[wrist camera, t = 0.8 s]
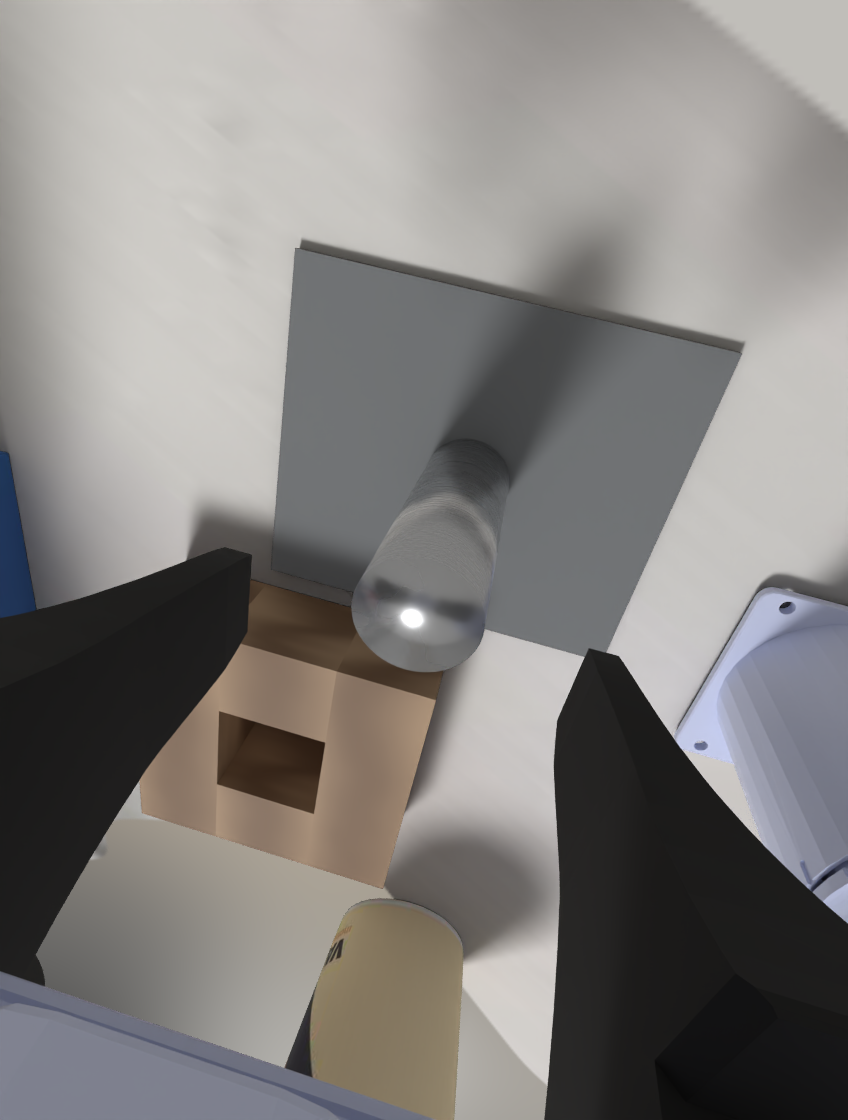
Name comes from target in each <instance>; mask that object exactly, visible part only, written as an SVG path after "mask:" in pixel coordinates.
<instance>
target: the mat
mask: <svg viewBox="0 0 848 1120" xmlns="http://www.w3.org/2000/svg"><path fill="white" fill-rule="evenodd" d="M741 355H742V353H740V352H736V351H732V350H727V349H723V348H719V347H715V346H711V345H706V344H702V343H698V342H694V341H689V340H685V339H681V338H677V337H672V336H668V335H664V334H660V333H655V332H651V331H647V330H643V329H639V328H634V327H630V326H626V325H622V324H617V323H613V322H609V321H605V320H600V319H596V318H592V317H588V316H583V315H579V314H575V313H571V312H567V311H562V310H558V309H554V308H550V307H545V306H541V305H537V304H533V303H528V302H524V301H520V300H516V299H512V298H507V297H503V296H499V295H495V294H490V293H486V292H482V291H478V290H473V289H469V288H465V287H461V286H456V285H452V284H448V283H444V282H440V281H435V280H431V279H427V278H423V277H418V276H414V275H410V274H406V273H401V272H397V271H393V270H389V269H384V268H380V267H376V266H372V265H368V264H363V263H359V262H355V261H351V260H346V259H342V258H338V257H334V256H329V255H325V254H321V253H317V252H312V251H308V250H304V249H300V248H295V257H294V270H293V283H292V297H291V310H290V323H289V336H288V350H287V363H286V376H285V389H284V403H283V416H282V429H281V442H280V456H279V469H278V482H277V495H276V509H275V522H274V535H273V548H272V562H271V570H275V571H278V572H282V573H285V574H289V575H293V576H296V577H300V578H303V579H307V580H310V581H314V582H318V583H321V584H325V585H328V586H332V587H336V588H339V589H343V590H346V591H350V592H354V591H355V589H356V586H357V584H358V583H359V581H360V579H361V577H362V576H363V574H364V572H365V571H366V569H367V567H368V565H369V564H370V562H371V560H372V558H373V557H374V555H375V553H376V552H377V550H378V548H379V546H380V545H381V543H382V541H383V540H384V538H385V536H386V534H387V533H388V531H389V529H390V527H391V526H392V524H393V522H394V521H395V519H396V517H397V515H398V514H399V512H400V510H401V508H402V507H403V505H404V503H405V502H406V500H407V498H408V496H409V495H410V493H411V491H412V489H413V488H414V486H415V484H416V483H417V481H418V479H419V477H420V476H421V474H422V472H423V471H424V469H425V467H426V465H427V464H428V462H429V460H430V459H431V457H432V455H433V454H434V453H435V452H436V451H437V450H438V449H439V448H440V447H441V446H443V445H444V444H446V443H448V442H450V441H453V440H457V439H464V438H468V439H476V440H479V441H482V442H484V443H487V444H488V445H490V446H492V447H493V448H494V449H495V450H496V451H497V452H498V453H499V454H500V455H501V456H502V458H503V459H504V461H505V463H506V465H507V468H508V472H509V488H508V494H507V499H506V505H505V511H504V517H503V523H502V529H501V535H500V540H499V546H498V552H497V558H496V564H495V570H494V576H493V582H492V587H491V593H490V599H489V605H488V611H487V617H486V623H485V628H484V629H487V630H490V631H494V632H497V633H501V634H504V635H508V636H512V637H515V638H519V639H522V640H526V641H530V642H533V643H537V644H540V645H544V646H548V647H551V648H555V649H558V650H562V651H566V652H569V653H573V654H576V655H580V656H584V657H585V656H586V653H587V651H588V649H589V648H591V649H594V650H598V651H602V652H605V653H606V651H607V649H608V647H609V644H610V642H611V640H612V638H613V636H614V633H615V631H616V629H617V627H618V625H619V623H620V620H621V618H622V616H623V614H624V612H625V609H626V607H627V605H628V603H629V601H630V598H631V596H632V594H633V592H634V590H635V587H636V585H637V583H638V581H639V579H640V576H641V574H642V572H643V570H644V568H645V566H646V563H647V561H648V559H649V557H650V555H651V552H652V550H653V548H654V546H655V544H656V541H657V539H658V537H659V535H660V533H661V530H662V528H663V526H664V524H665V522H666V519H667V517H668V515H669V513H670V511H671V509H672V506H673V504H674V502H675V500H676V498H677V495H678V493H679V491H680V489H681V487H682V484H683V482H684V480H685V478H686V476H687V473H688V471H689V469H690V467H691V465H692V462H693V460H694V458H695V456H696V454H697V452H698V449H699V447H700V445H701V443H702V441H703V438H704V436H705V434H706V432H707V430H708V427H709V425H710V423H711V421H712V419H713V416H714V414H715V412H716V410H717V408H718V405H719V403H720V401H721V399H722V397H723V395H724V392H725V390H726V388H727V386H728V384H729V381H730V379H731V377H732V375H733V373H734V370H735V368H736V366H737V364H738V362H739V359H740V357H741Z"/></svg>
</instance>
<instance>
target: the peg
mask: <svg viewBox="0 0 848 1120" xmlns="http://www.w3.org/2000/svg"><path fill="white" fill-rule="evenodd" d="M508 488H509V472H508V468H507V465H506V463H505V461H504V459H503V458H502V456H501V455H500V454H499V453H498V452H497V451H496V450H495V449H494V448H493V447H492V446H490V445H488V444H487V443H484V442H482V441H479V440H476V439H468V438H464V439H457V440H453V441H450V442H448V443H446V444H444V445H443V446H441V447H440V448H439V449H438V450H437V451H436V452H435V453H434V454H433V455H432V457H431V459H430V460H429V462H428V464H427V465H426V467H425V469H424V471H423V472H422V474H421V476H420V477H419V479H418V481H417V483H416V484H415V486H414V488H413V489H412V491H411V493H410V495H409V496H408V498H407V500H406V502H405V503H404V505H403V507H402V508H401V510H400V512H399V514H398V515H397V517H396V519H395V521H394V522H393V524H392V526H391V527H390V529H389V531H388V533H387V534H386V536H385V538H384V540H383V541H382V543H381V545H380V546H379V548H378V550H377V552H376V553H375V555H374V557H373V558H372V560H371V562H370V564H369V565H368V567H367V569H366V571H365V572H364V574H363V576H362V577H361V579H360V581H359V583H358V584H357V586H356V589H355V591H354V594H353V598H352V605H351V609H352V617H353V622H354V625H355V628H356V630H357V632H358V634H359V636H360V637H361V639H362V640H363V642H364V643H365V644H366V645H367V646H368V647H369V649H371V650H372V651H373V652H374V653H375V654H376V655H378V656H379V657H380V658H382V659H383V660H385V661H387V662H388V663H390V664H392V665H395V666H397V667H400V668H403V669H406V670H410V671H416V672H438V671H443V670H447V669H450V668H453V667H455V666H457V665H459V664H461V663H462V662H464V661H465V660H466V659H468V658H469V657H470V656H471V655H472V654H473V653H474V651H475V650H476V649H477V647H478V646H479V644H480V642H481V639H482V637H483V633H484V628H485V623H486V617H487V611H488V605H489V599H490V593H491V587H492V582H493V576H494V570H495V564H496V558H497V552H498V546H499V540H500V535H501V529H502V523H503V517H504V511H505V505H506V499H507V494H508Z"/></svg>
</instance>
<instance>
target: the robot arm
mask: <svg viewBox="0 0 848 1120" xmlns="http://www.w3.org/2000/svg"><path fill="white" fill-rule="evenodd" d="M251 559H252V555H251V554H247V553H243V552H240V551H236V550H232V549H229V548H225V547H224V548H221V549H217V550H214V551H211V552H209V553H206V554H203V555H200V556H198V557H195V558H193V559H190V560H187V561H185V562H182V563H180V564H177V565H174V566H172V567H169V568H167V569H164V570H161V571H159V572H156V573H153V574H151V575H148V576H145V577H143V578H140V579H137V580H134V581H132V582H129V583H126V584H123V585H120V586H117V587H114V588H111V589H108V590H105V591H102V592H99V593H96V594H93V595H90V596H87V597H83V598H80V599H76V600H73V601H69V602H66V603H62V604H59V605H55V606H51V607H47V608H43V609H39V610H35V611H31V612H27V613H22V614H18V615H13V616H8V617H3V618H0V1120H436V1119H433V1118H430V1117H427V1116H424V1115H421V1114H418V1113H415V1112H412V1111H409V1110H406V1109H403V1108H400V1107H397V1106H394V1105H391V1104H389V1103H386V1102H383V1101H380V1100H377V1099H374V1098H371V1097H368V1096H365V1095H362V1094H359V1093H356V1092H353V1091H350V1090H347V1089H344V1088H341V1087H339V1086H336V1085H333V1084H330V1083H327V1082H324V1081H321V1080H318V1079H315V1078H312V1077H309V1076H306V1075H303V1074H300V1073H297V1072H294V1071H292V1070H289V1069H286V1068H282V1067H279V1066H276V1065H274V1064H271V1063H268V1062H265V1061H262V1060H259V1059H256V1058H253V1057H250V1056H247V1055H244V1054H242V1053H239V1052H236V1051H233V1050H230V1049H227V1048H224V1047H221V1046H218V1045H215V1044H212V1043H209V1042H206V1041H203V1040H200V1039H197V1038H194V1037H192V1036H189V1035H186V1034H183V1033H180V1032H177V1031H174V1030H171V1029H168V1028H165V1027H162V1026H159V1025H156V1024H153V1023H150V1022H147V1021H144V1020H141V1019H138V1018H136V1017H133V1016H129V1015H127V1014H124V1013H121V1012H118V1011H115V1010H112V1009H109V1008H106V1007H103V1006H100V1005H97V1004H94V1003H92V1002H89V1001H86V1000H83V999H80V998H77V997H74V996H71V995H68V994H65V993H62V992H59V991H56V990H53V989H50V988H47V987H45V986H42V985H39V984H36V983H33V982H30V981H27V980H24V979H22V978H23V977H24V975H25V973H26V971H27V969H28V967H29V966H30V964H31V962H32V960H33V958H34V956H35V955H36V953H37V951H38V949H39V947H40V945H41V944H42V942H43V940H44V938H45V936H46V935H47V933H48V931H49V929H50V927H51V925H52V924H53V922H54V920H55V918H56V916H57V915H58V913H59V911H60V909H61V908H62V906H63V904H64V903H65V901H66V899H67V897H68V896H69V894H70V892H71V890H72V889H73V887H74V885H75V883H76V882H77V880H78V878H79V876H80V875H81V873H82V872H83V870H84V868H85V866H86V865H87V863H88V861H89V860H90V858H91V856H92V855H93V853H94V851H95V850H96V848H97V847H98V845H99V843H100V842H101V840H102V838H103V837H104V835H105V834H106V832H107V830H108V829H109V827H110V825H111V824H112V822H113V821H114V819H115V817H116V816H117V814H118V812H119V811H120V809H121V808H122V806H123V805H124V803H125V802H126V800H127V799H128V797H129V795H130V794H131V792H132V791H133V789H134V788H135V786H136V785H137V783H138V782H139V780H140V779H141V777H142V775H143V774H144V772H145V771H146V769H147V768H148V767H149V765H150V764H151V763H152V761H153V760H154V758H155V757H156V756H157V754H158V753H159V752H160V750H161V749H162V748H163V747H164V745H165V744H166V743H167V742H168V740H169V739H170V738H171V737H172V735H173V734H174V733H175V732H176V731H177V729H178V728H179V727H180V726H181V724H182V723H183V722H184V721H185V719H186V718H187V717H188V716H189V714H190V713H191V712H192V711H193V709H194V708H195V707H196V706H197V705H198V703H199V702H200V701H201V700H202V698H203V697H204V696H205V695H206V693H207V692H208V691H209V689H210V688H211V687H212V686H213V684H214V683H215V682H216V681H217V679H218V678H219V677H220V676H221V674H222V673H223V672H224V670H225V669H226V667H227V666H228V664H229V662H230V661H231V659H232V658H233V656H234V654H235V653H236V651H237V649H238V648H239V646H240V644H241V642H242V641H243V639H244V637H245V635H246V634H247V632H248V614H249V595H250V577H251ZM785 602H791V605H790V606H789V607H787V608H779V607H780V605H781V604H782V603H785ZM674 737H675V740H674V738H673V737H672V735H671V734H670V733H669V731H668V730H667V728H666V727H665V725H664V724H663V722H662V721H661V720H660V718H659V717H658V715H657V714H656V712H655V711H654V709H653V708H652V706H651V705H650V703H649V702H648V700H647V698H646V697H645V695H644V694H643V692H642V691H641V689H640V688H639V686H638V685H637V683H636V681H635V680H634V678H633V677H632V675H631V674H630V672H629V671H628V669H627V667H626V666H625V664H624V663H623V662H622V660H621V659H620V657H619V656H616V655H613V654H609V653H605V652H602V651H598V650H594V649H591V648H589V649H588V651H587V653H586V656H585V658H584V660H583V663H582V665H581V667H580V669H579V672H578V674H577V676H576V679H575V681H574V683H573V685H572V688H571V690H570V692H569V695H568V697H567V699H566V702H565V704H564V706H563V708H562V711H561V713H560V715H559V718H558V720H557V729H556V741H555V754H554V782H555V802H556V819H557V837H558V854H559V871H560V905H559V928H558V950H557V967H556V983H555V999H554V1014H553V1027H552V1039H551V1052H550V1065H549V1077H548V1088H547V1098H546V1108H545V1118H544V1119H545V1120H848V606H845V605H841V604H837V603H833V602H829V601H826V600H822V599H818V598H814V597H810V596H807V595H803V594H799V593H795V592H791V591H788V590H784V589H780V588H775V587H769V588H764V589H763V590H761V591H759V592H758V593H757V595H756V596H755V597H754V599H753V601H752V603H751V604H750V606H749V608H748V609H747V611H746V613H745V615H744V616H743V618H742V620H741V621H740V623H739V625H738V626H737V628H736V630H735V632H734V633H733V635H732V637H731V638H730V640H729V642H728V644H727V645H726V647H725V649H724V650H723V652H722V654H721V655H720V657H719V659H718V661H717V662H716V664H715V666H714V667H713V669H712V671H711V673H710V674H709V676H708V678H707V679H706V681H705V683H704V684H703V686H702V688H701V690H700V691H699V693H698V695H697V696H696V698H695V700H694V702H693V703H692V705H691V707H690V708H689V710H688V712H687V713H686V715H685V717H684V719H683V720H682V722H681V724H680V725H679V727H678V729H677V731H676V732H675V735H674ZM698 741H704V742H703V743H696V742H698ZM682 749H683V750H686V751H690V752H693V753H697V754H700V755H704V756H707V757H711V758H714V759H718V760H721V761H725V762H728V763H732V764H734V766H735V769H736V772H737V775H738V777H739V780H740V783H741V786H742V789H743V791H744V794H745V797H746V800H747V802H748V805H749V808H750V811H751V813H752V816H753V819H754V822H755V824H756V827H757V830H758V833H759V835H760V838H761V841H762V843H761V842H760V841H759V840H758V839H757V838H756V837H755V836H754V835H753V834H752V833H751V832H750V831H749V829H748V828H747V827H746V826H745V825H744V824H743V823H742V822H741V821H740V820H739V818H738V817H737V816H736V815H735V814H734V813H733V812H732V811H731V809H730V808H729V807H728V806H727V805H726V804H725V803H724V802H723V800H722V799H721V798H720V797H719V796H718V795H717V794H716V792H715V791H714V790H713V789H712V788H711V786H710V785H709V784H708V783H707V782H706V780H705V779H704V778H703V777H702V775H701V774H700V773H699V771H698V770H697V769H696V767H695V766H694V765H693V764H692V762H691V761H690V760H689V758H688V757H687V756H686V755H685V753H684V752H683V751H682Z"/></svg>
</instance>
